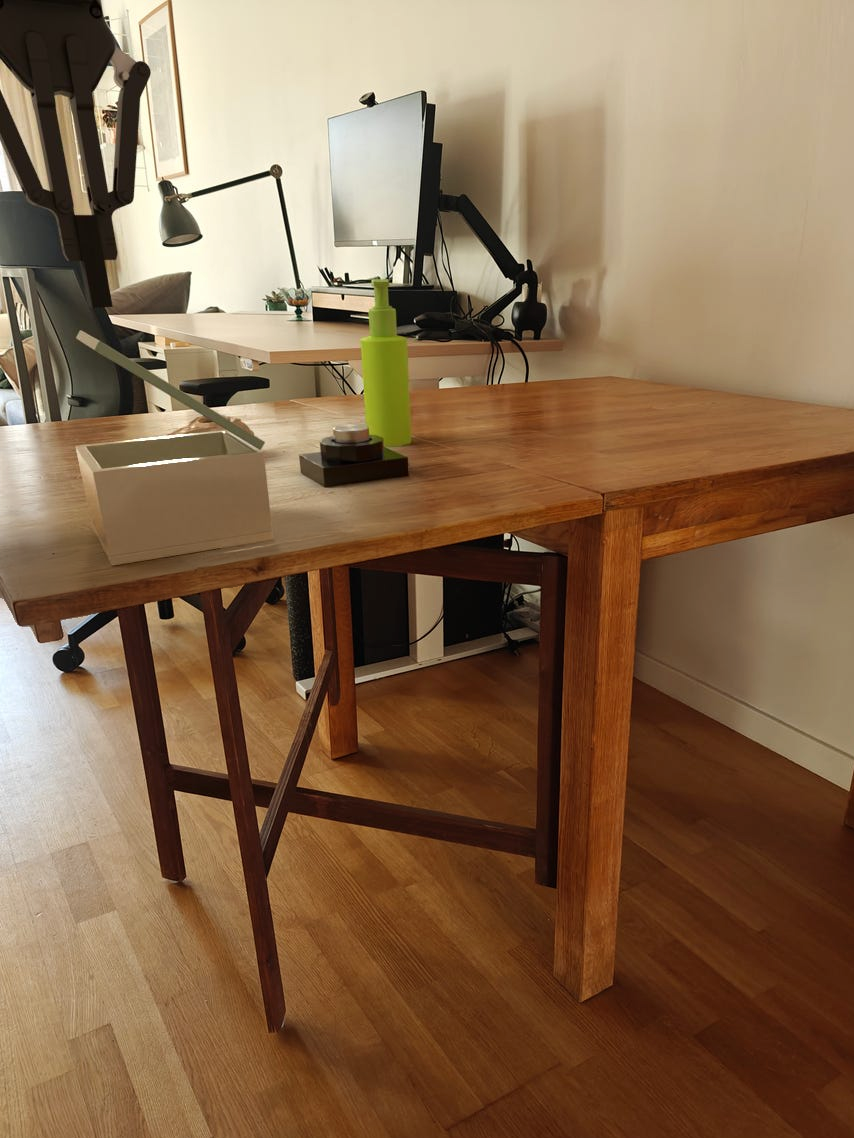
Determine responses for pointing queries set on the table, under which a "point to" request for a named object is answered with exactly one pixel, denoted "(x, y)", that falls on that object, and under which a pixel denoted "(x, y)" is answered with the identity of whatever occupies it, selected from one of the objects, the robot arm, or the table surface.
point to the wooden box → (175, 495)
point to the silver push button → (351, 434)
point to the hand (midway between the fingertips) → (100, 306)
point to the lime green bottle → (386, 373)
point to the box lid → (169, 389)
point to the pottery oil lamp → (206, 426)
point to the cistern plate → (352, 463)
